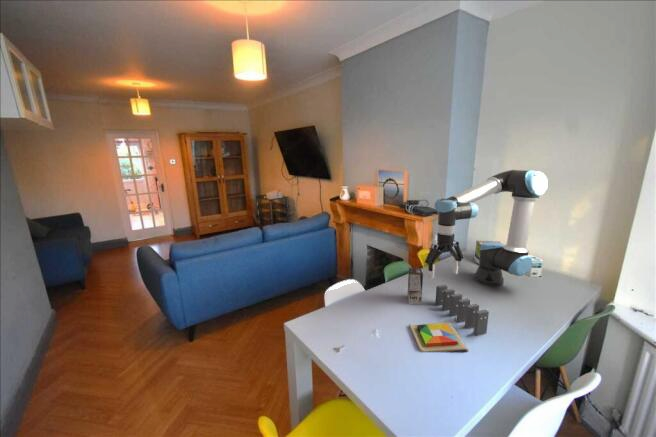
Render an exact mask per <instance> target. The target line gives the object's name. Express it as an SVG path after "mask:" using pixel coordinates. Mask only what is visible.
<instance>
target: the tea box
mask: <svg viewBox="0 0 656 437" xmlns="http://www.w3.org/2000/svg"><path fill="white" fill-rule="evenodd" d="M475 241H476V244H475V251H474V257H473V258H474V259H473V260H474V262H475V263H478V264H479V257H480V249H481V245H482V244H483V243H486V242H497V243H502V242H501V241H497V240H494V241H492V240H475ZM478 264H477V265H478Z"/></svg>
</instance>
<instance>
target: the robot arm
mask: <svg viewBox="0 0 656 437" xmlns="http://www.w3.org/2000/svg"><path fill="white" fill-rule="evenodd" d="M548 186H549V181H548V178H547V176H546V175H545V174H544V173H543V172H542V171H538V170H537V171H536V170H524V169H522V170H518V169H510V170H506V171H505V170H504V171H502V172H499V173H496V174H494V175H492V176H490V177H488V178H487V179H486V180H485V181H483V182H481V183H479V184H477V185H474V186H472V187H470V188H467V189H466V190H463V191H461V192H459V193H456V194H454V195H452V196H449V197H447V198H438V199H436V201H435V202H434V209H435V211H436V212H438V213H437V236H436V237H437V238H436V241H437V243H436V244H435V243H432V244H431V246H430V250H429V251H428V254H427V255H426V258H425V260H424V263H426V265H427V266H428V271H429V273H428V275H429V277H430V278H431V279H434V278H435V267H436V265H435V263H436V262H437V260H438V259H439V257H440V256H441V255H442V254H445V253H450V255H451V256H452V257H453V262H452V272H453V273H454V274H456V275H457V274H459V273H458V272H459V267H460V262H462V260H463V259H464V255H463V253H462V249H461V248H460V243H459V241H457V240H455V232H456V231H455V230H456V221H458V220H466V219H467V220H470V219H473V218H476V217H477V216H478V214H479V206H478V204H476V203H475V202H477V201H480V200H482V199H484V198H486V197H488V196H491V195H492V194H494V195H496V194H500V193H504V192H506V193H508V192H510V193H511V198H512V199H513V206H512V210H511V211H512V212H511V217H510V222H509V223H510V224H509V228H508V234H507V239H506V240H507V241H506V243H505V244H504V243H502V242H501V243H497V242H486V243H483V244H482V245H481V249H480V257H479V265H478V267H477V269H476V271H475V272H474V277H473V278H474V281H475V282H477V283H478V284H480V285H481V284H482V285H484V286H489V287H499V286H500V287H501V286H502V285H504V281H505V279H504V277H503V271H504V272H506V273H508V274H510V275H514V276H517V277H521V276H524V275H526V273H527V272H528V271H529V270H530V268H531V266H532V258H531V257H530V256H528V255H529V250H528V248H527V243H528V238H529V233H530V227H531V223H532V219H533V218H532V217H533V211H534V206H535V202H536V201H538V200H539V199H540V196H542V195H544V194H545V192H547V190H548Z"/></svg>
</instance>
